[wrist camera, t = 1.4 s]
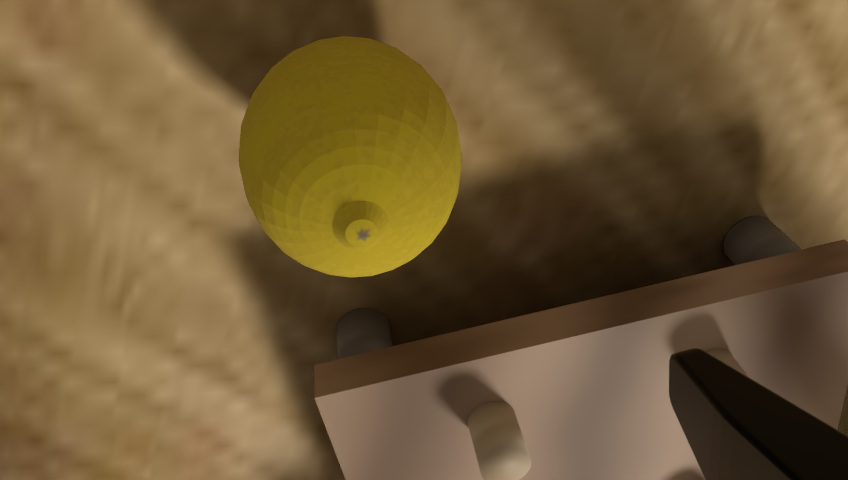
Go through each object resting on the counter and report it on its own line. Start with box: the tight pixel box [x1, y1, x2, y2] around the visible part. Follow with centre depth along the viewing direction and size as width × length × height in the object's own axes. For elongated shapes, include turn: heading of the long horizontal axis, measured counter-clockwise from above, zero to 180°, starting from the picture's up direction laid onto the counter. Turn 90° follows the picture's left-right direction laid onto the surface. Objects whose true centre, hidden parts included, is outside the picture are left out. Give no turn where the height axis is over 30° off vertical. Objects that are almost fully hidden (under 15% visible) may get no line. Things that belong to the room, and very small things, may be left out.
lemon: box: [239, 36, 462, 277], centre depth 18 cm, size 6×6×8 cm
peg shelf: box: [314, 216, 848, 480], centre depth 26 cm, size 18×13×6 cm
